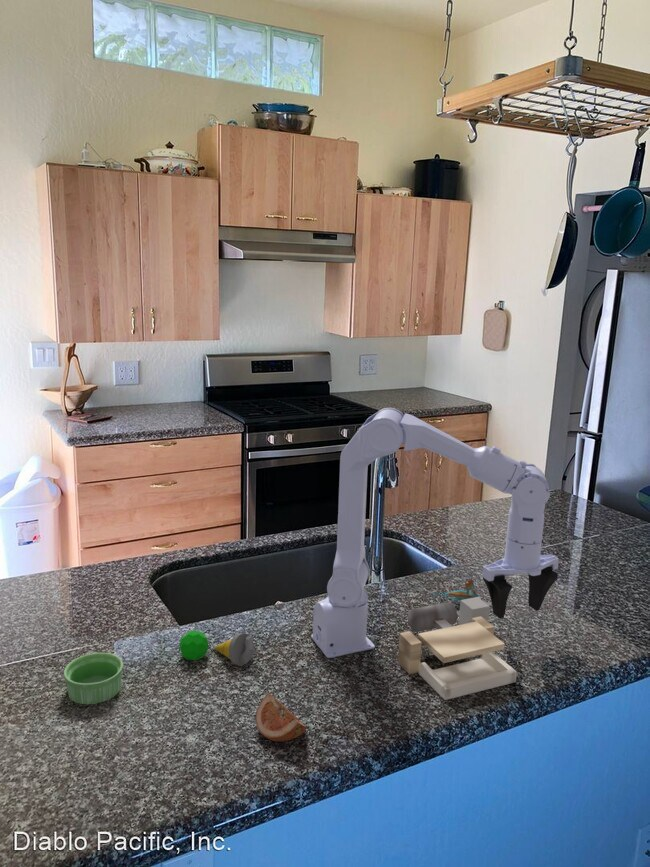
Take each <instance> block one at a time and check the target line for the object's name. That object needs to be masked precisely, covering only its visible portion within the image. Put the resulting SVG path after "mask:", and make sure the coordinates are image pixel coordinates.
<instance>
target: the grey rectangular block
mask: <svg viewBox="0 0 650 867" xmlns="http://www.w3.org/2000/svg"><path fill="white" fill-rule="evenodd" d="M490 608H491V606H490V605H489V604H488V603H486V602H485V601H484V600H482V599H481V598H480V597H479V596H478V597H474V598H469V599H464V600H460V601H459V615H458V624H459V625H462V624H466V623H471V622H472V618H476V617H480V616H481V617H482V618H484V619H485V620H486V621H488V622H489V620H490V610H491V609H490Z"/></svg>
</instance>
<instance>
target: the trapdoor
mask: <svg viewBox="0 0 650 867" xmlns="http://www.w3.org/2000/svg"><path fill="white" fill-rule="evenodd" d="M457 621H458V612H457V609H456V606H455V605H454V603H452V602H450V601H447V602H441V603H437V604H431V605H426V606H425V605H424V606H422V607H416V608H411V609H409V610H408V613H407V622H408V625H409V627H410V630H412V631H413V632H414V633H417V632H420V633H417V634H418V635H417V639H418V640H420V641H421V642H422V645H424V647H426V648H427V649H428V650H429V651H430V652H431V653H432V654H433V655H434V656H435V657H437V659H439V661H441V663H443V664H446V663H447V664H448V663H451V662H454V661H458V660H463V659H468V658H472V657H476V656H480V655H481V654H485V653H489V652H494V653H495V652H497V651H503V650H505V645H506V644H505V643H504V642H503V641H502V640H500V639H499V638H498V637H497V636H496V635H495V634H494V635H493V634H492V633H490V632H489V631H488V630H487V629H485V628H484V627H483V626H482V625H480V624H479V623H478V622H471V623H466V624H462V625H461V624H458V625H455V624H456V623H457ZM453 625H454V626H453ZM432 629H433V630H432ZM427 630H430V631H427ZM422 631H425V632H422Z"/></svg>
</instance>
